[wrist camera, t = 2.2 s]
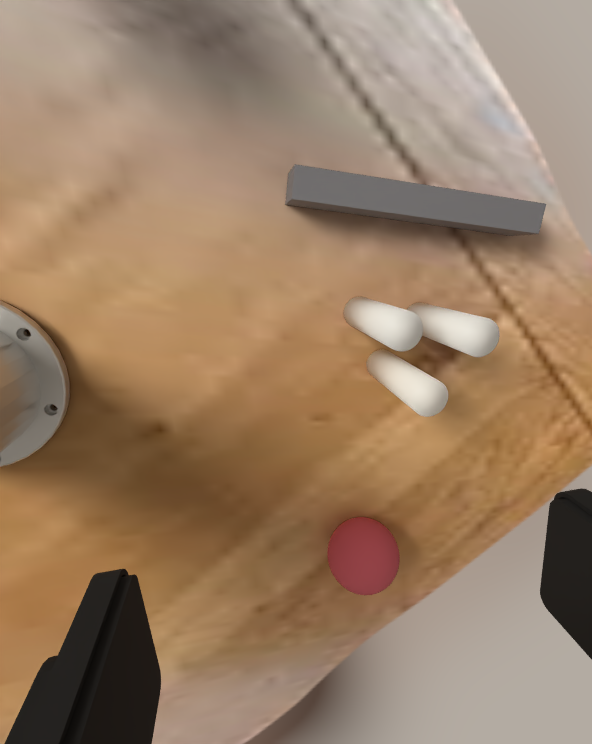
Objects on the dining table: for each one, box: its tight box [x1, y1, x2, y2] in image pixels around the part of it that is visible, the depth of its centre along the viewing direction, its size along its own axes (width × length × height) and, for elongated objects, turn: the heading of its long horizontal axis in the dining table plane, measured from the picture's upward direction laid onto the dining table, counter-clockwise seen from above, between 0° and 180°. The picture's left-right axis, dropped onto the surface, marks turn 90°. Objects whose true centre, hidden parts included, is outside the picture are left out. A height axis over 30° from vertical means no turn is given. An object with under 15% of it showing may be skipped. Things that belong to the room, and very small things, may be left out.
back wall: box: [285, 164, 546, 236], centre depth 28 cm, size 18×2×3 cm, turn 84°
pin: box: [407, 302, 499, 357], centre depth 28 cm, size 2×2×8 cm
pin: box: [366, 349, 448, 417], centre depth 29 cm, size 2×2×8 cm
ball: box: [328, 517, 399, 595], centre depth 34 cm, size 6×6×6 cm
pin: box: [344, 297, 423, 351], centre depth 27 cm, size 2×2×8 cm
